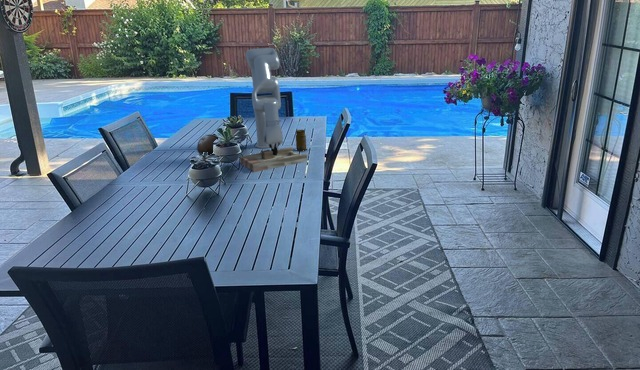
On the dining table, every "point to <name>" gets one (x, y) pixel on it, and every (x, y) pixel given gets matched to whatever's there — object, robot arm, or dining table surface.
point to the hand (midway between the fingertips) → (274, 154)
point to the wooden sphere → (206, 144)
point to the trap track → (272, 160)
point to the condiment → (300, 140)
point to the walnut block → (267, 154)
